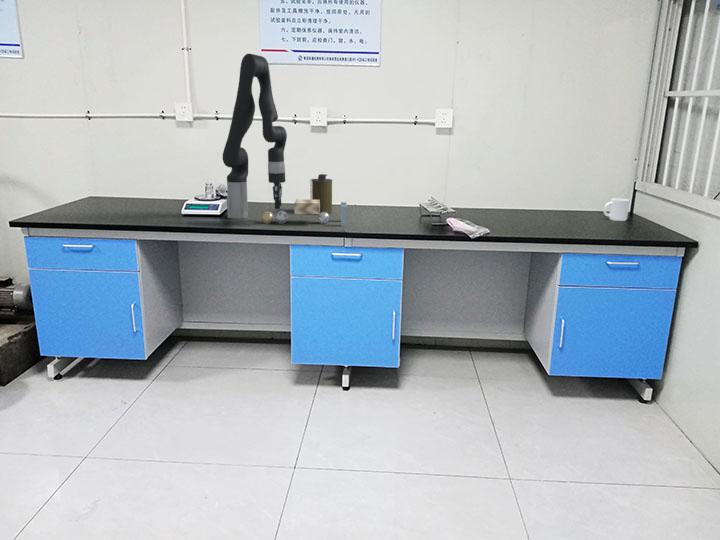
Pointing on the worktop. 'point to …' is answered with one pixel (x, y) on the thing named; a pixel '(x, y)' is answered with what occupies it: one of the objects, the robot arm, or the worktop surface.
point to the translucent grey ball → (323, 217)
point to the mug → (617, 209)
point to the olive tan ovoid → (267, 217)
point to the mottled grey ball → (281, 217)
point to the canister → (323, 192)
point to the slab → (307, 206)
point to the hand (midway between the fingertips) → (278, 207)
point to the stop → (343, 214)
